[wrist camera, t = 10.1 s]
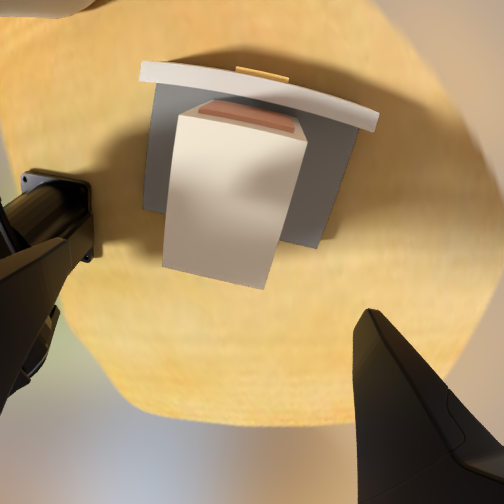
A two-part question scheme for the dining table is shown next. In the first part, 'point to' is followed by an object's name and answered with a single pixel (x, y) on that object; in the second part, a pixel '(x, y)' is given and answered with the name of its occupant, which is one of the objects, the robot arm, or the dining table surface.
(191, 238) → the carton
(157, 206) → the grey drawer
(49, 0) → the can
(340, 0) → the dining table surface
